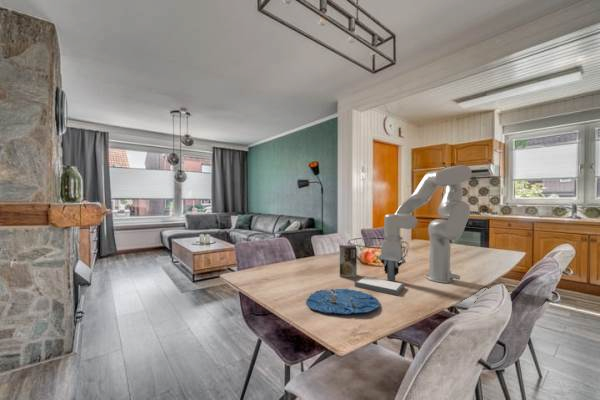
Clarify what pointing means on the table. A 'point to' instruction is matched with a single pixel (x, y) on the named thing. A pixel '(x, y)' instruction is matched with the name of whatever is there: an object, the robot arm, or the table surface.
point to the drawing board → (380, 285)
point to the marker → (390, 270)
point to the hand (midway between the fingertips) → (391, 273)
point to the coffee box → (347, 261)
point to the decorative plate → (342, 301)
